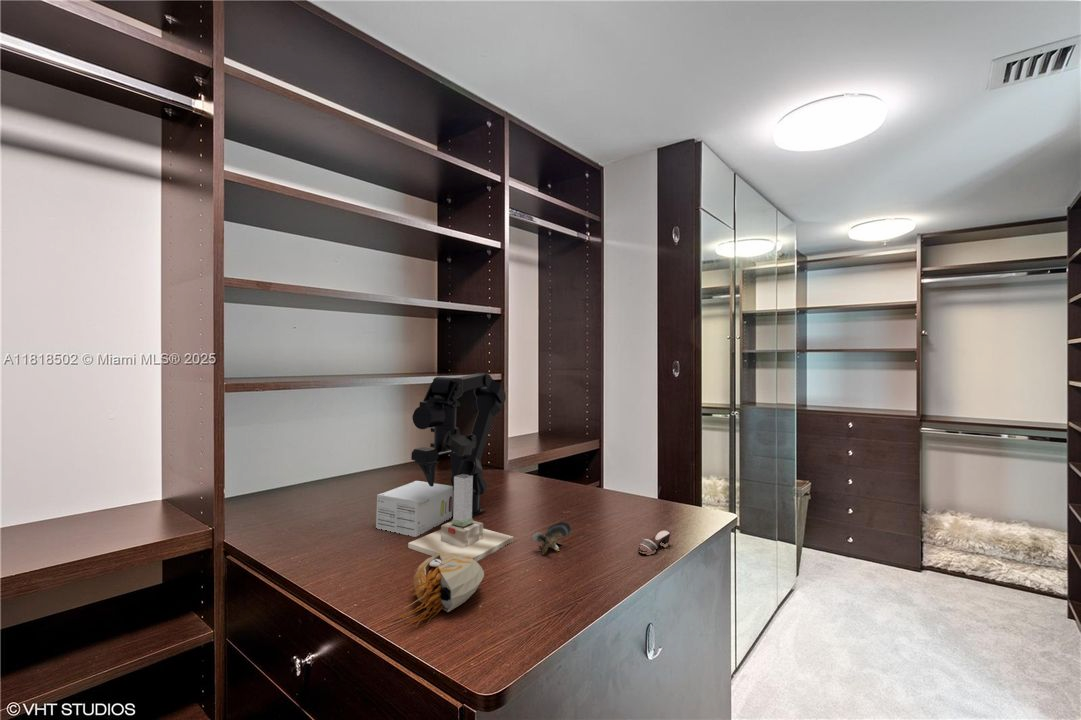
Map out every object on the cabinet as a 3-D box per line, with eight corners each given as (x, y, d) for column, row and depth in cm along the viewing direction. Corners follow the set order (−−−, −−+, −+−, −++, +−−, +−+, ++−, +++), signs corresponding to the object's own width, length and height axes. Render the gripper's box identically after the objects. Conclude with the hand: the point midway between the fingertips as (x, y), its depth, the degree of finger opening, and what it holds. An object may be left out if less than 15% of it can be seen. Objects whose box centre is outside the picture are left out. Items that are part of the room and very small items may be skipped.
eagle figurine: (564, 556, 113) (578, 535, 121) (547, 529, 113) (562, 510, 121) (540, 566, 116) (554, 546, 124) (523, 540, 117) (539, 522, 125)
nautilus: (429, 649, 79) (363, 627, 87) (501, 586, 98) (443, 572, 105) (425, 601, 79) (360, 583, 86) (499, 547, 98) (440, 536, 105)
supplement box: (416, 538, 124) (417, 501, 124) (375, 529, 129) (375, 494, 129) (453, 517, 140) (454, 485, 140) (415, 511, 145) (415, 479, 145)
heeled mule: (631, 552, 119) (631, 536, 119) (660, 542, 126) (661, 527, 126) (645, 559, 115) (646, 543, 115) (674, 548, 122) (675, 533, 122)
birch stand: (458, 526, 133) (459, 507, 133) (513, 541, 123) (513, 520, 123) (408, 547, 118) (408, 526, 117) (465, 567, 108) (466, 543, 108)
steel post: (461, 520, 123) (462, 473, 122) (472, 523, 121) (473, 475, 121) (452, 524, 120) (453, 476, 120) (463, 527, 118) (464, 478, 118)
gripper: (442, 432, 119) (441, 496, 119) (490, 423, 135) (489, 480, 135) (410, 427, 125) (409, 488, 125) (459, 419, 141) (458, 473, 141)
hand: (443, 482), depth 132 cm, fingers open, 9 cm apart
